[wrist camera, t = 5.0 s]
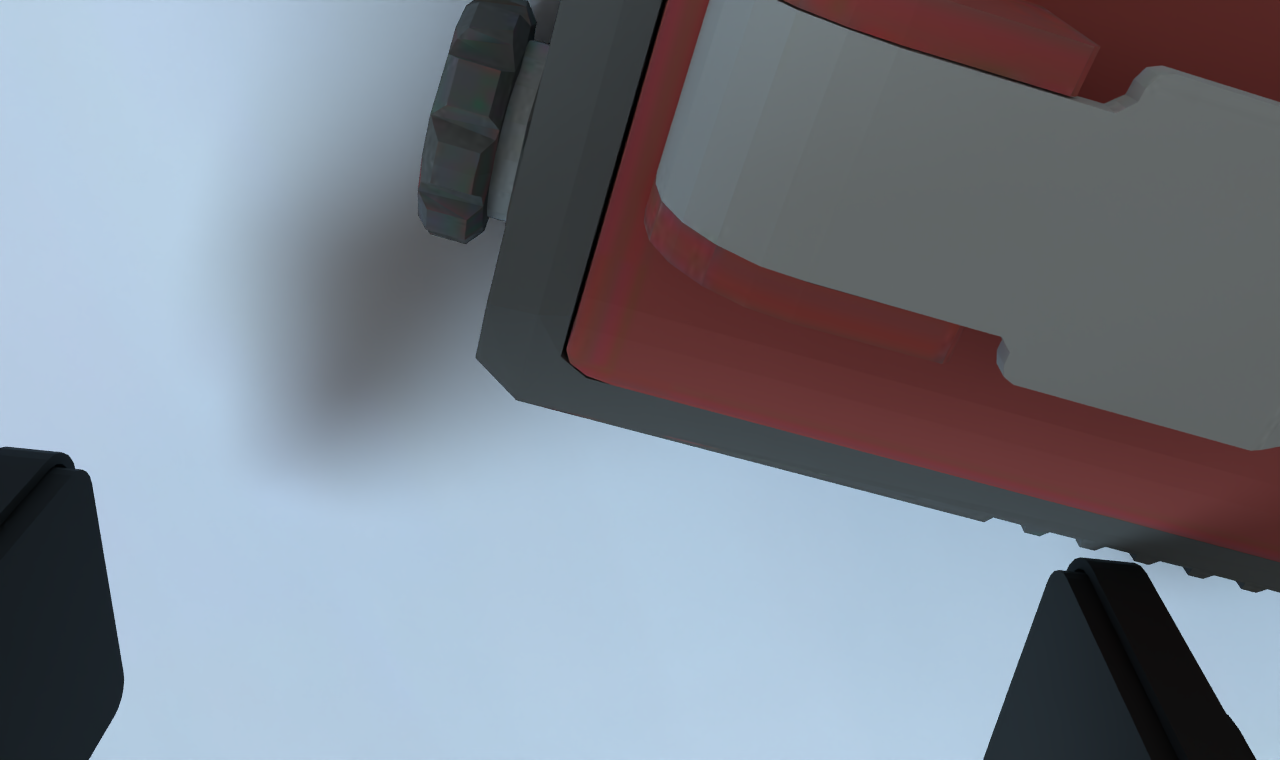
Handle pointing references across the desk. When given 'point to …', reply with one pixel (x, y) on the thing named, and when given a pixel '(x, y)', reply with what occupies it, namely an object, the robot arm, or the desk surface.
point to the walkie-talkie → (898, 247)
